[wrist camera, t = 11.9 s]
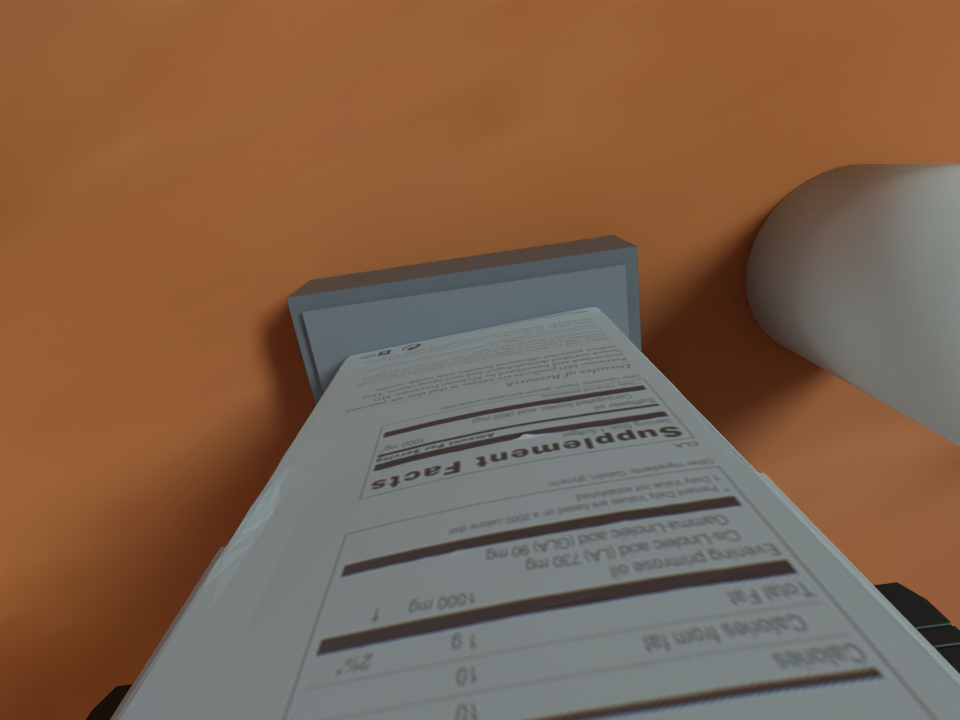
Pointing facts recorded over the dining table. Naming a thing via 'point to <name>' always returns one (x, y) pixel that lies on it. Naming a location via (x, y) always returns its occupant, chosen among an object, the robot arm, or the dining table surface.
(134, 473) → the dining table surface
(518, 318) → the plate
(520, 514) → the supplement box
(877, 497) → the dining table surface
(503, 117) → the dining table surface
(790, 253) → the white rounded knob
